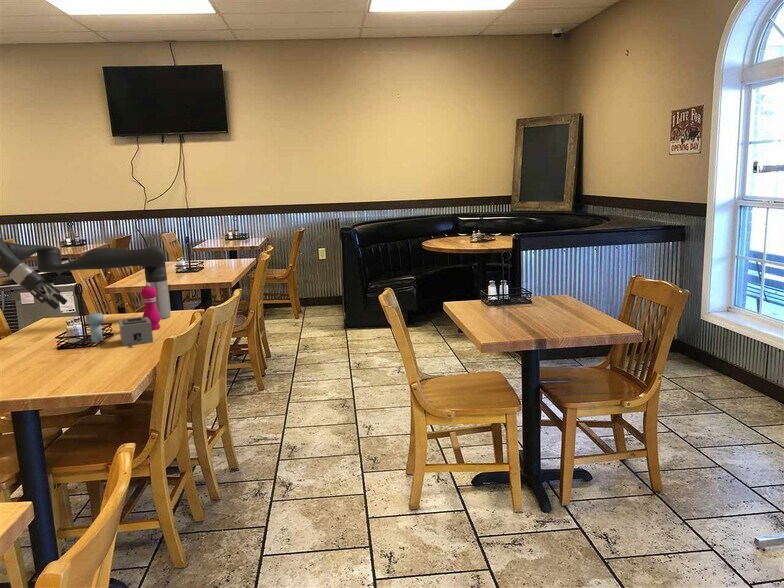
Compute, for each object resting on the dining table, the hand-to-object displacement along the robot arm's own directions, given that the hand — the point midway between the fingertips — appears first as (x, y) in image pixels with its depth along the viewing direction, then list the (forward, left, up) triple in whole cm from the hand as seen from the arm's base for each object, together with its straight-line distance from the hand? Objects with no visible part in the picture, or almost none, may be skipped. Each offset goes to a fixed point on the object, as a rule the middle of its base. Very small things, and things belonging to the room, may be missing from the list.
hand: (61, 305), depth 245 cm
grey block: (+10, +25, -16) cm, 31 cm away
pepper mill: (-8, +33, -16) cm, 38 cm away
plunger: (+16, +25, -14) cm, 32 cm away
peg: (+4, +11, -16) cm, 20 cm away
